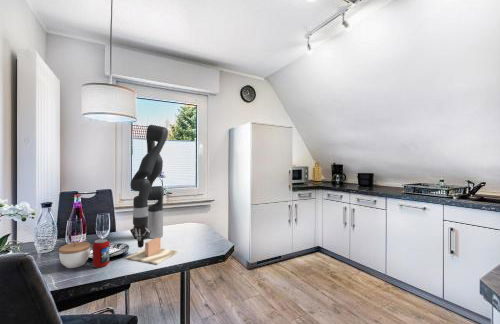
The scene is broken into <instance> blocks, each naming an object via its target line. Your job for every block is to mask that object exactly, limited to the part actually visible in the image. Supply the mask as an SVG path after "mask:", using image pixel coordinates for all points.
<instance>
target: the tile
mask: <svg viewBox="0 0 500 324" xmlns="http://www.w3.org/2000/svg"><path fill="white" fill-rule="evenodd" d="M160 248H161V237H159V238H158V237H157V238H151V240H148V241H146V242H144V249H145V256H148V257H149V256H151V255H153V254H154V253H156V252H158V251H160Z"/></svg>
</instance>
